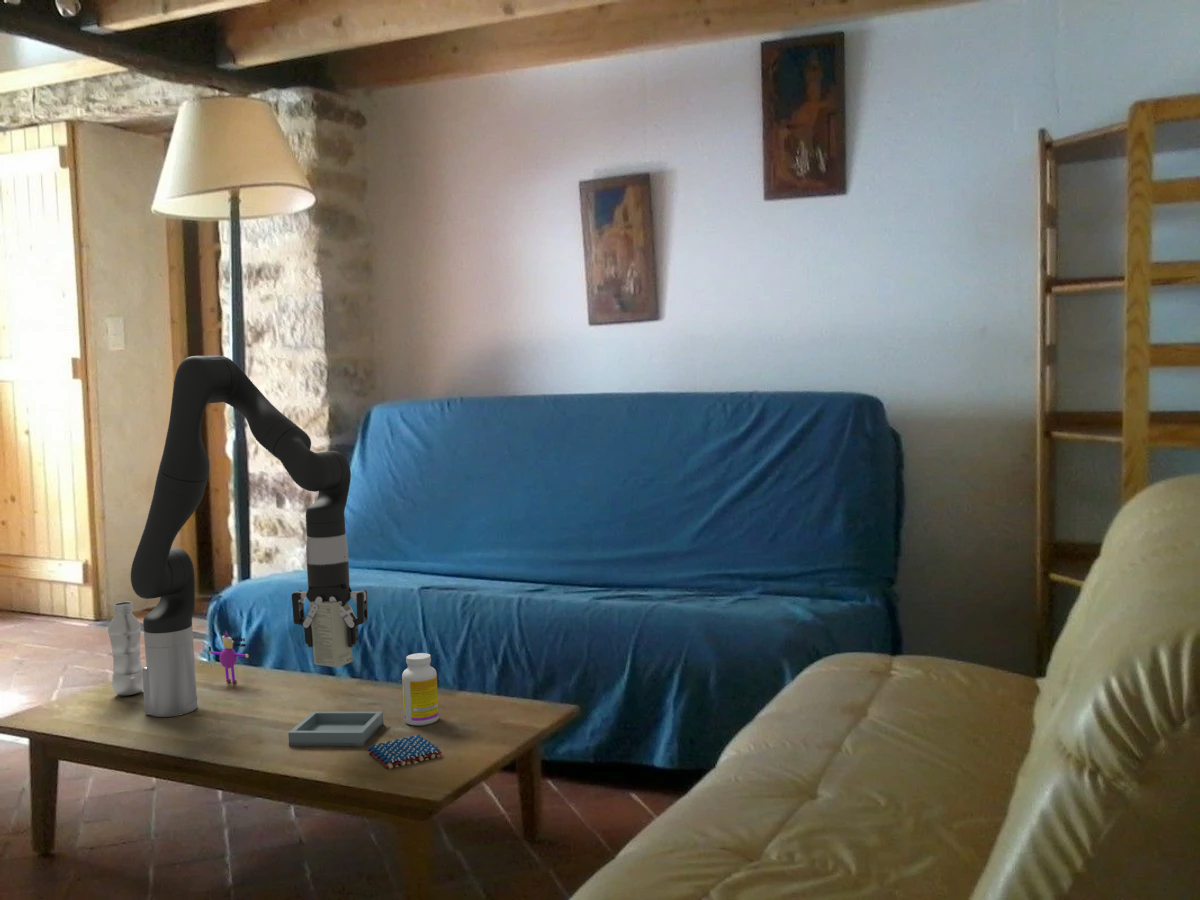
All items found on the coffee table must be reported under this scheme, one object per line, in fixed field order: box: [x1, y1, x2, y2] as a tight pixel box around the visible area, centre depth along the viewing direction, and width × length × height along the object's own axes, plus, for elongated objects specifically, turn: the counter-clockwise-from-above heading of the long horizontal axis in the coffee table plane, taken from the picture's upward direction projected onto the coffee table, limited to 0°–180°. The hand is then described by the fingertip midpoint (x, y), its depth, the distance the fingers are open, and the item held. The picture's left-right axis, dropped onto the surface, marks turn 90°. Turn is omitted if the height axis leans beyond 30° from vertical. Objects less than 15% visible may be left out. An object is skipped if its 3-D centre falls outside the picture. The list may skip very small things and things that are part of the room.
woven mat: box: [366, 734, 443, 770], centre depth 191 cm, size 10×11×2 cm
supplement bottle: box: [401, 652, 440, 727], centre depth 208 cm, size 7×7×13 cm
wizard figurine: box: [208, 630, 249, 684], centre depth 239 cm, size 11×3×12 cm, turn 66°
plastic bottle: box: [107, 601, 143, 696], centre depth 233 cm, size 6×7×20 cm
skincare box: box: [308, 600, 354, 668], centre depth 201 cm, size 6×4×12 cm
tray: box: [287, 711, 385, 747], centre depth 202 cm, size 14×12×2 cm
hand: (332, 646), depth 201 cm, fingers closed on skincare box, 7 cm apart
